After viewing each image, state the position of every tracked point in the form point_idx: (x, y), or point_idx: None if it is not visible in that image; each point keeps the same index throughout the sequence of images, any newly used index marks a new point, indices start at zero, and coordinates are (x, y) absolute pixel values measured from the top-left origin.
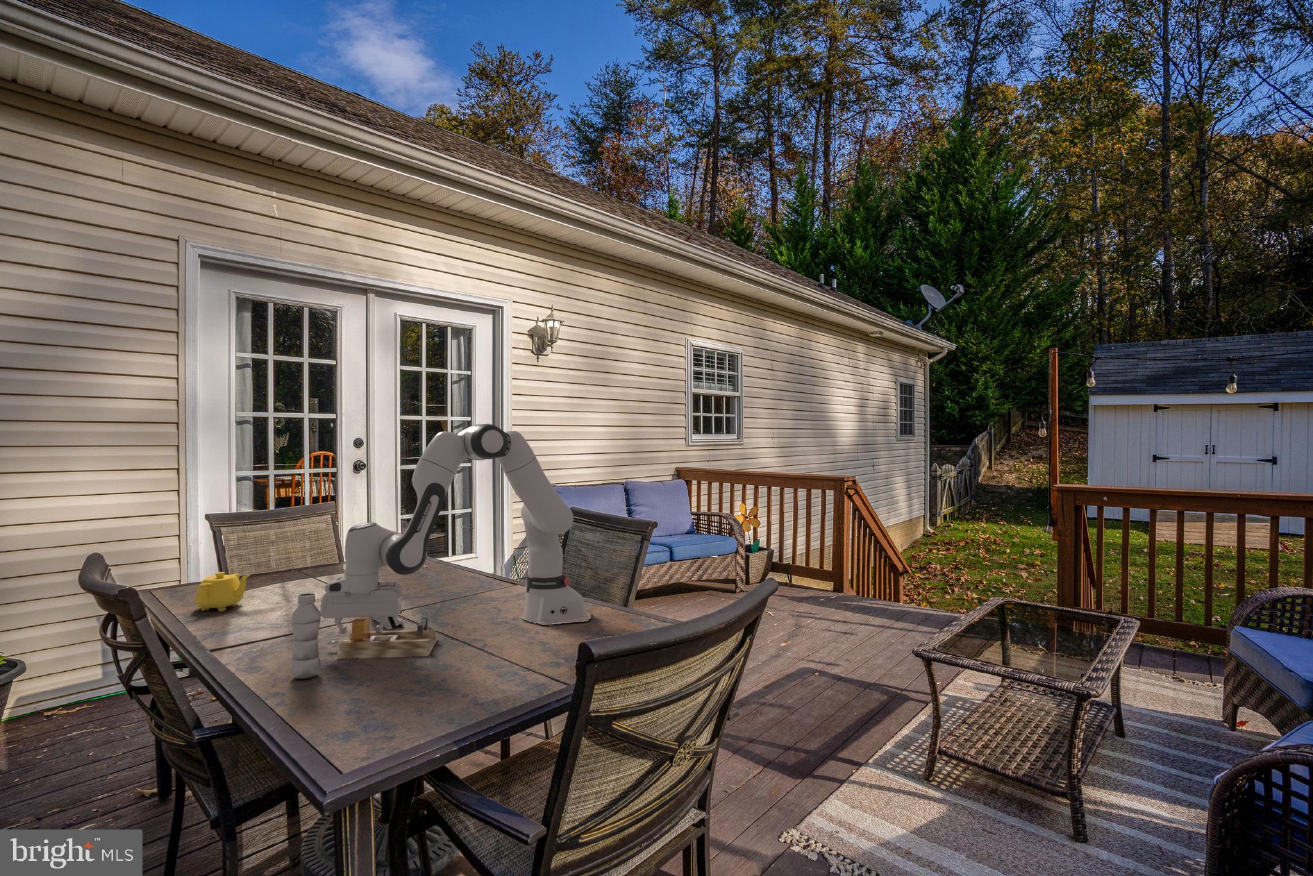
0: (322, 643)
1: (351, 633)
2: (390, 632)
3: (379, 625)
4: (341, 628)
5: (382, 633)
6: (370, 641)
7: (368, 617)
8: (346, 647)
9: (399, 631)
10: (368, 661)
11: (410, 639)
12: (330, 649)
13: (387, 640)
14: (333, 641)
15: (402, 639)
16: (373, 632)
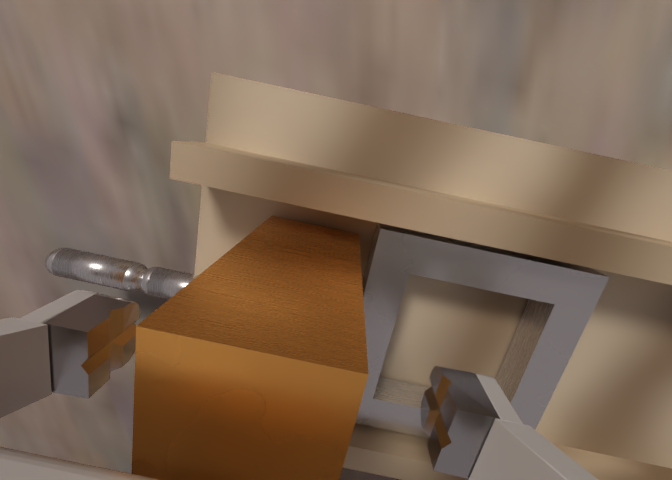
0: (7, 39)
1: (188, 181)
2: (552, 259)
3: (479, 430)
4: (57, 386)
5: (475, 239)
6: (371, 454)
7: (343, 454)
8: None
9: (643, 272)
10: (361, 473)
11: (667, 300)
12: (113, 212)
13: None
14: (91, 282)
15: (608, 280)
16: (394, 224)
